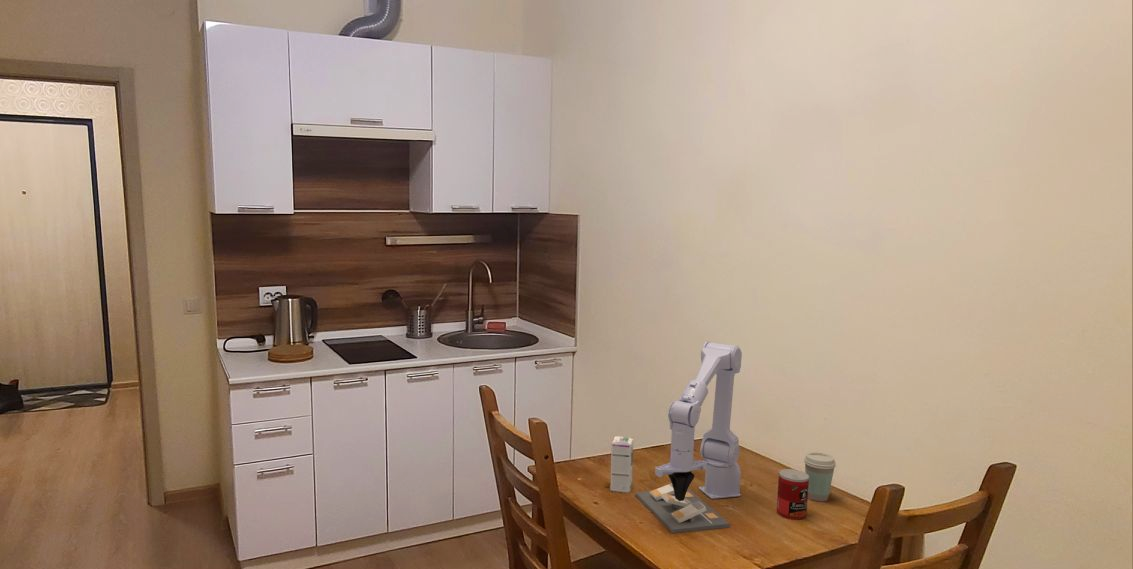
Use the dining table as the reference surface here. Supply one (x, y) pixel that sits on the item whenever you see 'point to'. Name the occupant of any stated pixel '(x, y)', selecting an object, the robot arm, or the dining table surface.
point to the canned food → (792, 493)
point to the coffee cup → (819, 475)
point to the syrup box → (621, 464)
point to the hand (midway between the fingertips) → (679, 499)
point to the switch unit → (664, 509)
